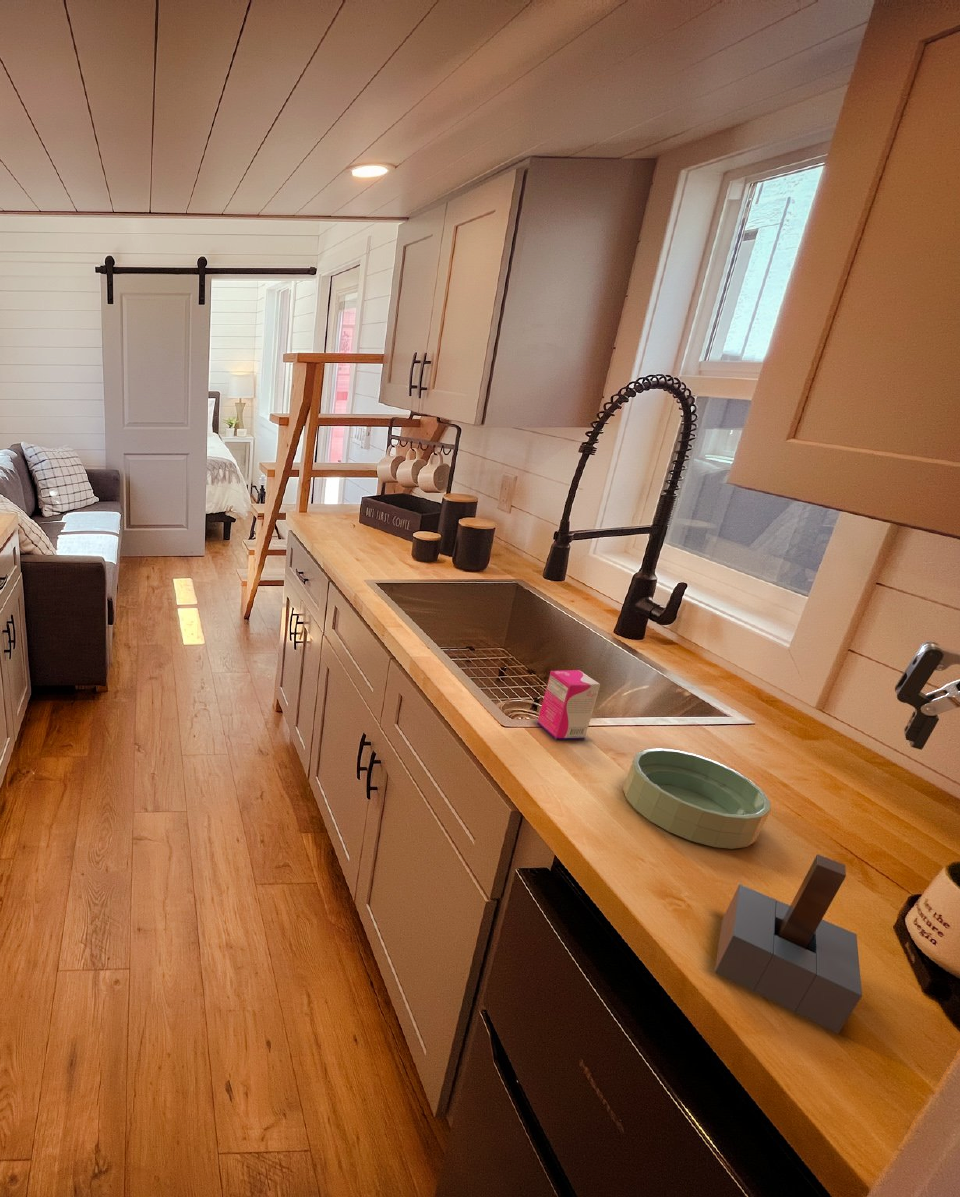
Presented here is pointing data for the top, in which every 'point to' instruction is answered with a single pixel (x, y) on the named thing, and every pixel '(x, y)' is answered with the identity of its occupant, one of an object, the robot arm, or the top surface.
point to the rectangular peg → (812, 901)
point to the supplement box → (568, 704)
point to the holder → (789, 961)
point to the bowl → (696, 798)
